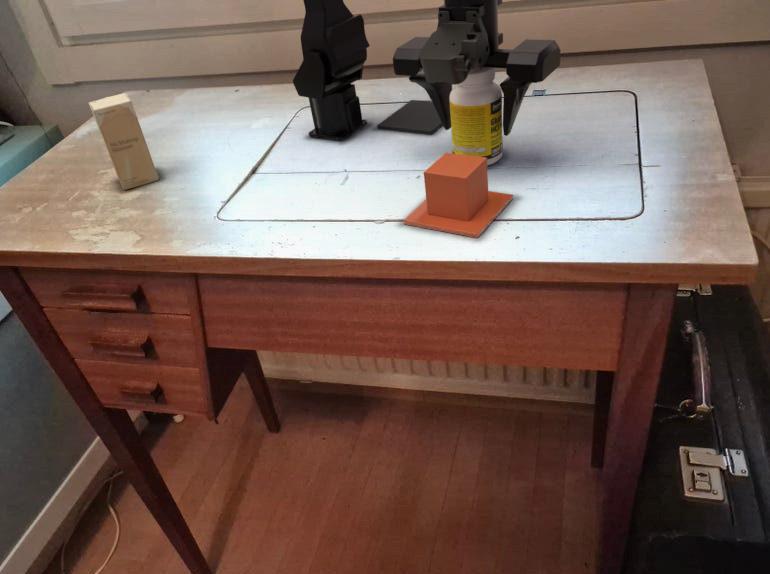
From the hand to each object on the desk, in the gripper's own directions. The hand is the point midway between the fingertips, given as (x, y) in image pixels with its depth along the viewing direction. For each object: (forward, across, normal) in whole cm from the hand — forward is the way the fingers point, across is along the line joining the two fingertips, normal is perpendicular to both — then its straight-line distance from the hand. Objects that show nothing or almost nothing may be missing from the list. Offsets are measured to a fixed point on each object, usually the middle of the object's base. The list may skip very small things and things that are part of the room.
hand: (476, 131), depth 81 cm
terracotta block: (+3, +4, -13) cm, 14 cm away
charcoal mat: (+3, -14, +10) cm, 18 cm away
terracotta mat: (+4, +4, -13) cm, 14 cm away
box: (+3, -43, -19) cm, 47 cm away
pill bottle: (+4, 0, 0) cm, 4 cm away
